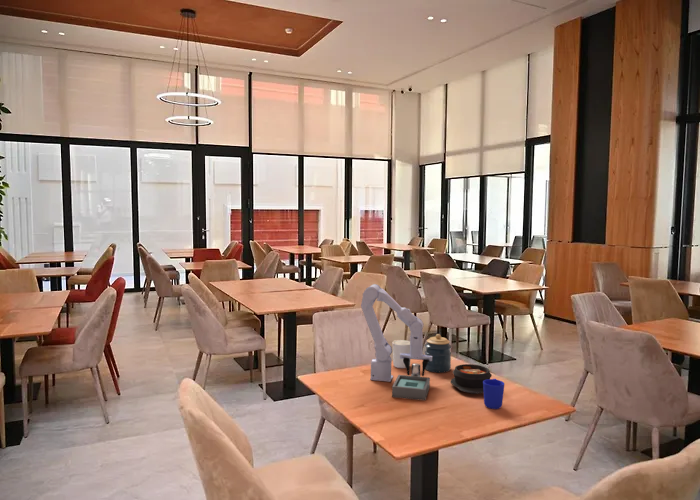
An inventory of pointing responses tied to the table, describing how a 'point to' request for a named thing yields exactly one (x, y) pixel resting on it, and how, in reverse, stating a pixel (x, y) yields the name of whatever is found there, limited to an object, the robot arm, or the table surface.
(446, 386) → the table surface
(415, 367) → the peg
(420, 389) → the tray
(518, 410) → the table surface
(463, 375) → the casserole
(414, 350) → the robot arm
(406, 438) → the table surface
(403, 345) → the candle holder
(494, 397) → the mug
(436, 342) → the canister
